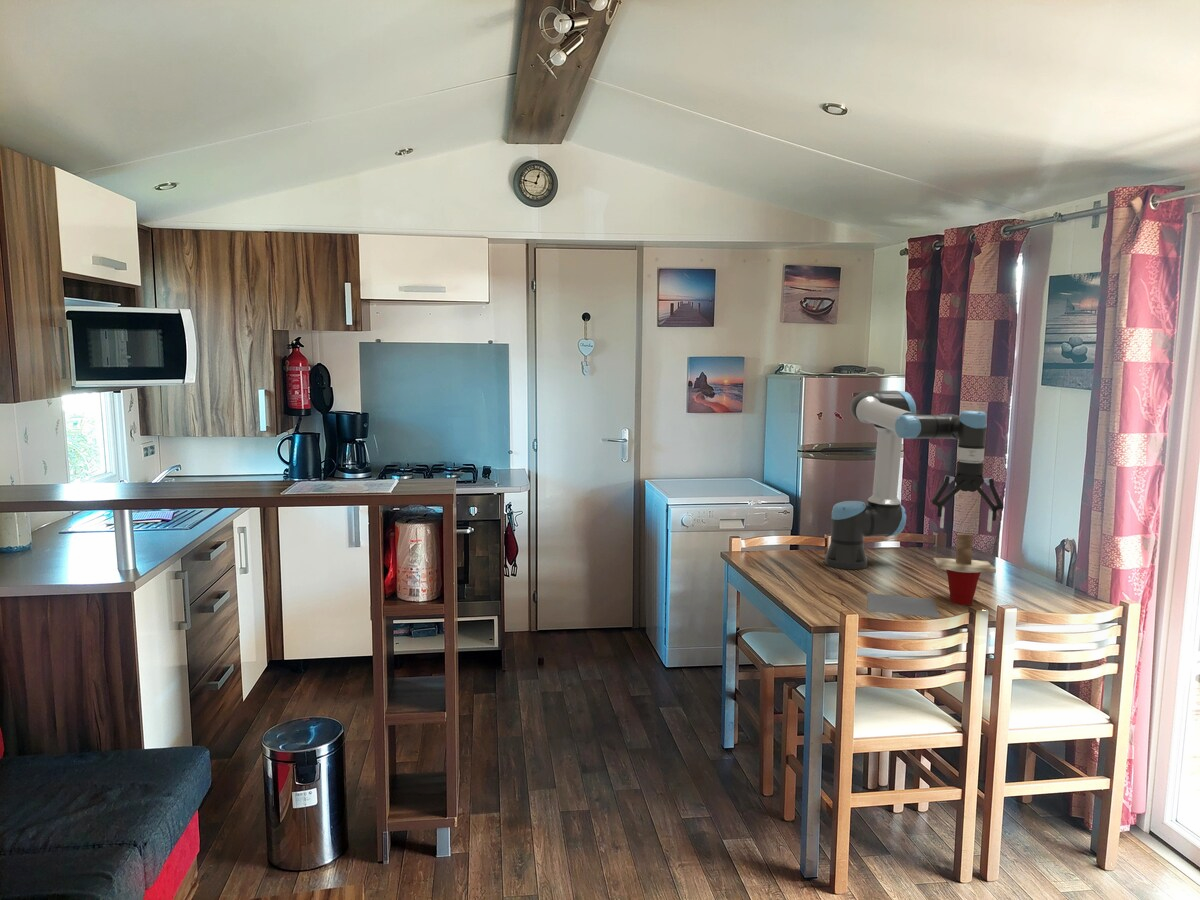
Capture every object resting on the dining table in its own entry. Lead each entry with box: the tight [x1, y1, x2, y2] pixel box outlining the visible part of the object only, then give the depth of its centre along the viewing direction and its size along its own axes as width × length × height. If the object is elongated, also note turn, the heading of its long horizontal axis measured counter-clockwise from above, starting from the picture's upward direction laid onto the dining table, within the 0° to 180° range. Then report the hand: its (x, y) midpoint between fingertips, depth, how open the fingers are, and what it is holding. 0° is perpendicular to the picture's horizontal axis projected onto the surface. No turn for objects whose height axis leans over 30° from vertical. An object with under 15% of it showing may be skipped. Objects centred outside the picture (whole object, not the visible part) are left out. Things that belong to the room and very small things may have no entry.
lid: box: [932, 532, 997, 574], centre depth 258 cm, size 16×16×10 cm
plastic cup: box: [945, 570, 982, 606], centre depth 258 cm, size 11×11×12 cm
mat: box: [866, 592, 941, 619], centre depth 255 cm, size 20×20×1 cm
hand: (965, 529), depth 257 cm, fingers open, 13 cm apart
